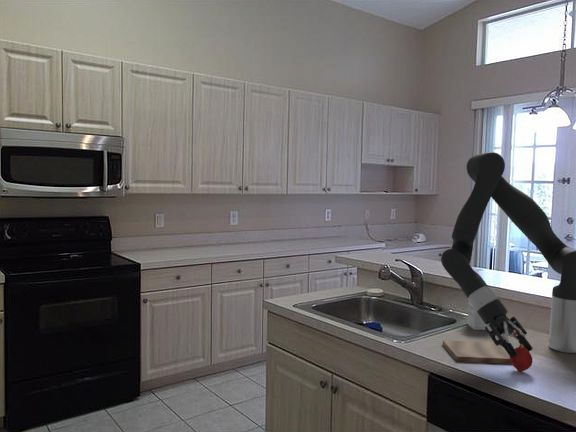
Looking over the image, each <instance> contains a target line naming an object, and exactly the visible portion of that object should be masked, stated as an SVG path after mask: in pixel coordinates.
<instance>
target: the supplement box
mask: <svg viewBox="0 0 576 432" xmlns="http://www.w3.org/2000/svg"><path fill="white" fill-rule="evenodd" d="M467 302H468V305H467V323H466V324H467V325H468V326H469V328H471V329H472V330H477V331H481V330H482V331H486V329H485V327H486V326H487V325H489V324H485V323H484V322H483V320H482V319H481V317H480V316H479V315H478V313H477V312H476V310H475V309H474V307H473V306H472V304H471V303H470V301H469V299H468V300H467Z"/></svg>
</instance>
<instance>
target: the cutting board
mask: <svg viewBox="0 0 576 432" xmlns="http://www.w3.org/2000/svg"><path fill="white" fill-rule="evenodd" d="M442 346H443V347H444V348H445V349H446V351H447V352H448V353H449V354H450V355H451V357H452V358H453V359H454V360H455V361H456V362H463V363H464V362H466V363H483V364H484V363H487V364H506V365H507V364H510V365H512V364H511V362H510V356H509V354H508V353H507V351H506V350H505V349H504V347H502V346H500V345H498V346H497V345H496V344H495V343H494V341H493V342H492V341H491V342H490V341H469V340H449V339H446V340H444V339H443V340H442Z"/></svg>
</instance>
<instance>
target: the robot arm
mask: <svg viewBox="0 0 576 432" xmlns="http://www.w3.org/2000/svg"><path fill="white" fill-rule="evenodd" d="M505 162H506V161H505V159H504V157H503V156H502V155H501V154H500V153H498V152H495V151H489V152H484V153H483V152H482V153H478V154H476V155H473V156H472V157H470V158H469V159H468V161H467V163H466V173H467V175H468V176H469V178H470V179H471V180H472V181H473V183H474V185H473V188H472V191H471V193H470V195H469V197H468V199H467V200H466V202H465V203H464V205H463V206H462V208H461V210H460V212H459V213H458V216H457V217H456V221H455V224H454V227H453V230H452V234H451V239H452V246H451V248H448V249H446V250H444V251H443V252H442V254H441V257H440V262H441V265H442V267H443V269H444V270H445V271H446V272H447V274H449V276H450V277H451V278H452V279H453V280H454V281H455V282H456V284H457V285H458V286H459V287H460V289H461V291H462V292H463V293H464V295H465V296H466V298H467V299H468V300H469V301H470V303H471V304H472V306H473V307H474V309H475V310H476V312H477V313H478V315H479V316H480V317H481V319H482V320H483V322H484V323H485V324H489V325H487V326H486V327H485V329H486V330H485V331H486V332H487V334H488V335H489V337H490V338H491V340H492V341H493V342H494V343H495V344H496V345H497V346H498V345H500V346H502V347H504V349H505V350H506V351H507V353H508V354H509V356H510V357H511V358H513V357H515V356H517V355H518V353H517V351H516V350H515V347H514V345H512V343H511V342H510V339H509V337H510V338H514V339H515V340H517V341H518V343H519V345H521V344H522V345H523V346H524V347H525V348H526V349H527V350H528V351H529V352H531V351H532V350H533V346H532V344H531V343H529V341H528V340H527V338H526V335H527V334H528V332H527V331H526V329H525V328H524V327H523V326H522V324H521V323H520V322H519V320H518V319H517V318H516V317H515V316H512V317H511V318H509V317H508V316H507V313H508V312H509V311H508V309H507V308H506V306H505V305H504V303H502V301H501V300H500V298H499V297H498V296H497V294H496V293H495V292H494V290H493V289H491V288H490V287H489V285H488V284H487V282H486V281H485V280H484V278H482V276H481V275H480V274H479V273H478V272H477V271H475V270H474V269H473V267H472V266H471V264H470V263H471V260H472V255H473V252H474V251H473V250H474V242H475V240H476V237H477V234H478V231H479V228H480V224H481V221H482V219H483V216H484V214H485V211H486V209H487V207H488V204H489V202H490V200H491V199H493V201H494V202H495V203H496V204H497V206H498V208H500V209H501V210H502V212H503V213H505V215H506V216H507V217H508V218H509V219H510V221H511V222H512V223H513V224H514V226H516V228H518V230H519V231H520V232H521V233H522V234H523V235H524V236H525V237H526V238H527V239H528V241H530V242H531V244H533V246H535V247H536V249H537V250H538V251H539V252H540V254H541V255H542V257H543V258H544V259H545V260H546V262H547V263H548V265H549V266H550V267H551V269H552V270H554V272H556V273H558V274H559V275H561V276H560V279H559V280H560V282H559V284H558V285H554V286H553V287H552V293H551V308H550V319H549V320H550V322H549V332H548V333H549V337H548V347H549V348H551V349H552V350H555V351H558V352H562V353H568V354H576V248H571V247H569V246H568V245H566V244H565V243H564V242H563V241H562V240H561V239H560V238H559V237H558V236H557V235H556V234H555V232H554V230H553V229H552V226H551V222H550V220H549V217H548V215H547V214H546V213H545V211H544V210H543V209H542V207H540V205H539V204H538V203H537V202H536V201H535V200H534V199H533V198H532V197H531V196H530V195H528V194H526V193H524V192H523V191H521V190H520V189H519V188H517V187H515V186H514V185H513V184H511V183H509V181H507V180H506V179H505V178H504V176H503V174H504V172H505V169H506V163H505Z"/></svg>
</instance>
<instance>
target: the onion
mask: <svg viewBox="0 0 576 432" xmlns="http://www.w3.org/2000/svg"><path fill="white" fill-rule="evenodd" d="M514 349H515V350H516V351H517V353H518V355H517V356H515V357H513V358H511V357H510V362H511V364H510V365H512V366H513V368H515V369H516V370H517V371H518V372H519V373H523V372H525V371H526V370H528V369H530V368H531V367H532V365H533V356H532V354H531V351H528V350H527V349H526V348H525V347H524V346H523V345H522V344H521V345H520V344H519V345H518V347H516V348H515V347H514Z"/></svg>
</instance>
